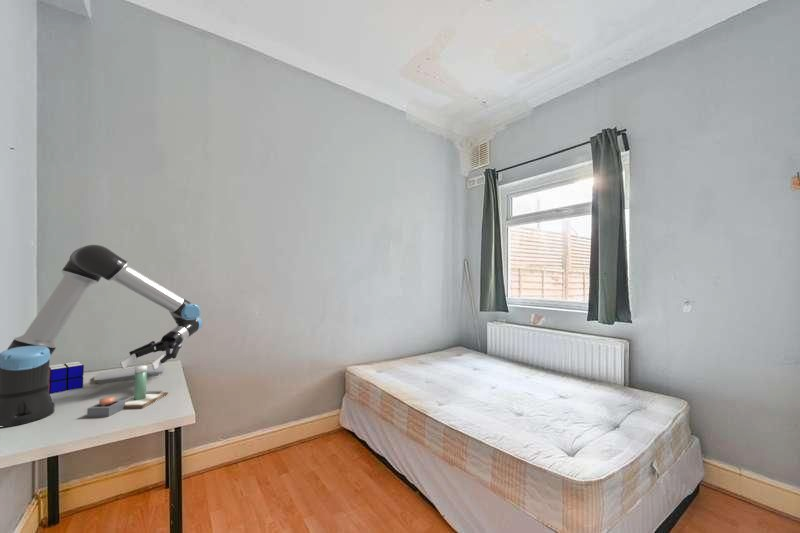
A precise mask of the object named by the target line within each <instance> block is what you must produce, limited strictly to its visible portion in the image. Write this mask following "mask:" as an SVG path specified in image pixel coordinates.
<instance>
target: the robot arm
mask: <svg viewBox="0 0 800 533" xmlns="http://www.w3.org/2000/svg"><path fill="white" fill-rule="evenodd" d="M61 273H62V274H63V277H62V278H61V279H60V282H58V284H57V286H56V287H55V289H54V290H53V291H52V293H51V294H50V296H49V298H47V300H46V302H45V303H44V305H43V306H42V308H41V309H40V310H39V312H38V313H37V315H36V316H35V318H34V319H33V321H32V322H31V324H30V325H29V326H28V327H27V329H26V331H25V332H24V334H22V335H21V336H16V337H14V338H13V340H12V342H11V343H10V344H9V346H8V347H7V349H5V350H3V351H1V352H0V426H9V427H14V426H13V425H15V426H19V424H20V425H23V424H27V423H28V424H29V423H31V422H35V421H38V420H41V419H44V418H47V417H49V416H51V415H53V413H54V412H55V408H56V407H55V403H54V402H53V400H52V396H51V394H49V391H48V383H49V366H50V363H51V362H50V360H51V357H52V354H54V352H55V351H56V349H57V344H56V343H55V342H56V340H57V338H58V337H59V336H60V333H61V332H62V330H63V329H64V327H65V325H66V324H67V323H68V321H69V320H70V318H71V317H72V315H73V313H74V311H75V310H76V309H77V307H78V305H80V303H81V301H82V300H83V298H84V297H85V295H86V293H87V291H88V290H89V288H90V287H91V285H94V284H98V283H99V282H100V280H101V278H102V279H104V280H106V281H108V282H109V281H114V282H116V283H118V284H119V285H121V286H123V287H125V288H126V289H128V290H130V291H132V292H134V293H136V294H138V295H139V296H142V297H143V298H145V299H146V300H149V302H150V301H151V302H152V303H154V304H156V305H158V306H160V307H161V308H163V309H164V310H165V309H166V311H168V312H169V314H170V315H171V317H172V318H173V320H174V321H175V323H176V325H177V326H175V327H174V328H172V329H171V330H170V331H168V332H167V333H166V334H164V335H163V336H162V338H161V339H160V341H157V342H155V340H152V341H150V342H149V343H147V344H144V345H143V346H140V347H138V348H135V349H133V350H131V351H129V356H127V357H126V358H125V359H124V360H123V361H121V362H120V364H119V365H120V367H121V370H122V369H126V368H127V367H128V366H129V365H131V364H132V363H134V362H135V361H136V360H137V359H138V358H140V357H142V356H143V357H144V356H145V355H148V354H151V353H156V352H165V353H164V354H162V355H161V356H159V358H157V359H156V360H155V361H153V362H152V363H151V366H152V367H153V370H155V369H156V368H158V367H159V366H160V365H163V364H164V363H166V362H167V361H169V360H171V359H176V358H177V356H178V353H179V350H180V349H181V348H182V343H183V342H185V341H186V340H187V339H188V338H190V337H191V336H193V334H195V333H196V332H198V331H199V330H200V328H202V326H203V320H202V318H200V315H201V312H202V311H201V310H202V309H201V308H200V306H199V305H198V304H195V303H192V302H190V301H189V300H187V299H185V298H183V297H182V296H180V295H179V294H177V293H175V292H174V291H172V290H170V289H169V288H167V287H166V286H163V285H162V284H160V283H158V281H157V282H156V281H155V280H154V279H152V278H150V277H149V276H147V275H145V274H143V273H141V272H140V271H139V270H137V269H135V268H134V267H131V266H130V265H129V262H128V261H127V260H125V259H124V258H122V257H121V256H119V255H118V254H116V253H115V252H113V251H112V250H111V249H109V248H107V247H105V246H104V245H99V244H88V245H85V246H83V247H82V246H81V247H78V248H77V249H75V250H73V252H72V253H71V254H70V256H69V260H68V261H67V262H66V264H65V265H64V267H63V268H62V269H61ZM171 350H172V351H171Z"/></svg>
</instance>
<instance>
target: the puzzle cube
mask: <svg viewBox="0 0 800 533" xmlns="http://www.w3.org/2000/svg"><path fill="white" fill-rule="evenodd" d="M84 368H85V366H84V364H83V363H82V362H81V361H74V362H67V363H58V364H53V365H49V383H48V391H49V394H50V395H52V394H56V393H57V394H58V393H62V392H66V391H72V390H77V389H78V390H79V389H83V388H84V372H85V371H84V370H85V369H84Z"/></svg>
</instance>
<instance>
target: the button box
mask: <svg viewBox="0 0 800 533" xmlns="http://www.w3.org/2000/svg"><path fill="white" fill-rule="evenodd" d="M125 401H126V400H125V399H119V400H118V399H117V400H116V399H115V402H114V403H112V404H109V405H99V402H98V403H96V404H94V405H92V406H89V407H87V412H86V414H87V416H86V417H87V418H102V417H103V418H104V417H111V416H113V415H115V414H117V413H119V412H121V411H123V410H125V409H124V406H125Z"/></svg>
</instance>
